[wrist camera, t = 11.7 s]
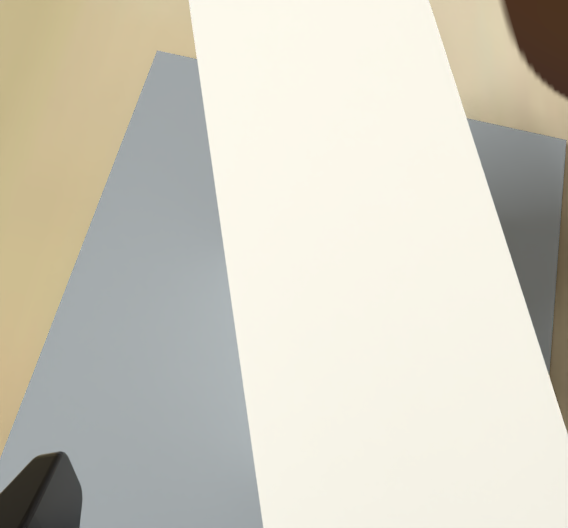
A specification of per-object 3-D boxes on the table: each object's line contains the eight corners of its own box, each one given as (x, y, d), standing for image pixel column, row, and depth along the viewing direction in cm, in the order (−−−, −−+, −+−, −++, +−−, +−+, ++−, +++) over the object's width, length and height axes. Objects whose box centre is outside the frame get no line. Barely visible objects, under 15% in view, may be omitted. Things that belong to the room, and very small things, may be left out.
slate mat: (508, 792, 13) (517, 806, 13) (-60, 634, 14) (-71, 642, 13) (558, 147, 19) (566, 140, 18) (160, 59, 20) (157, 50, 19)
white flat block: (368, 454, 15) (603, 546, 4) (271, 472, 15) (275, 614, 4) (324, 240, 17) (414, -46, 6) (238, 253, 17) (185, -21, 6)
